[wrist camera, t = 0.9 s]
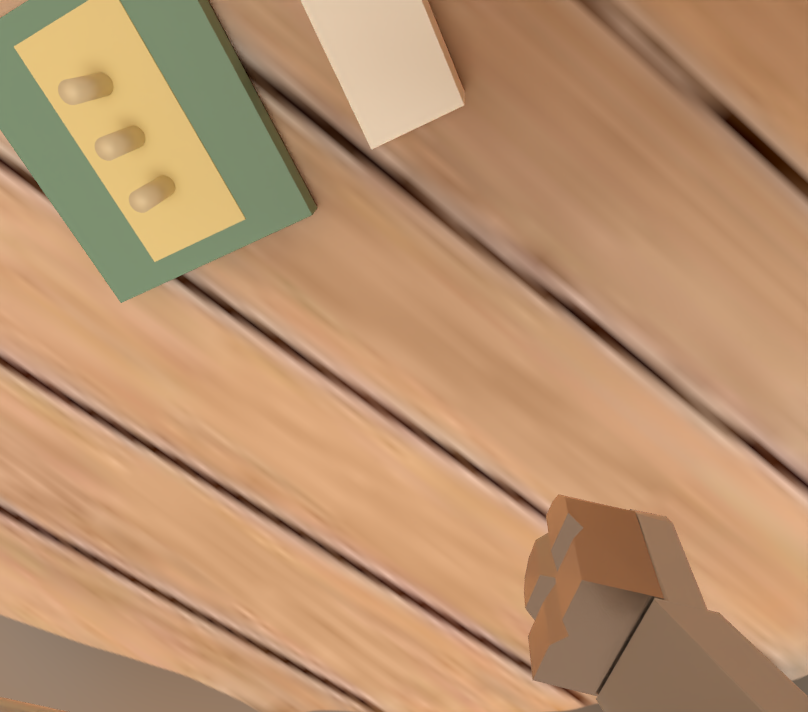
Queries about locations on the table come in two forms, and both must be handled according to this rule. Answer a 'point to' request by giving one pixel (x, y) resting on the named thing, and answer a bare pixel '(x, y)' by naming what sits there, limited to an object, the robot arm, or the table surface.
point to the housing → (388, 63)
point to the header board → (144, 134)
